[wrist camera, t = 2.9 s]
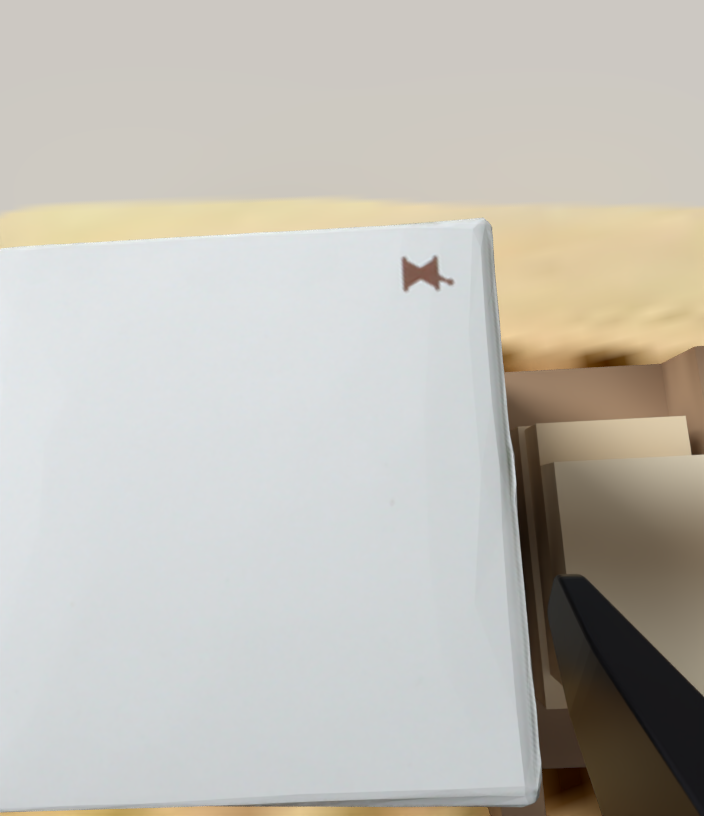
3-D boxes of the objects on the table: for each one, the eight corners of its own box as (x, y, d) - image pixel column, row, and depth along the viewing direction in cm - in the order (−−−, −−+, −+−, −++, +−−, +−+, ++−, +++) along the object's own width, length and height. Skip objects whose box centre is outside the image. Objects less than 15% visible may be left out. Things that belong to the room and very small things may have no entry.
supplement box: (214, 401, 20) (-38, 224, 8) (424, 394, 20) (511, 199, 8) (211, 621, 19) (-100, 831, 6) (436, 615, 19) (565, 821, 6)
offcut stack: (689, 689, 17) (772, 736, 13) (534, 695, 17) (577, 743, 14) (651, 424, 18) (717, 403, 15) (508, 432, 19) (540, 413, 15)
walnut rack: (727, 747, 18) (866, 837, 13) (467, 757, 18) (504, 849, 13) (670, 369, 20) (768, 322, 15) (439, 382, 20) (461, 340, 15)
